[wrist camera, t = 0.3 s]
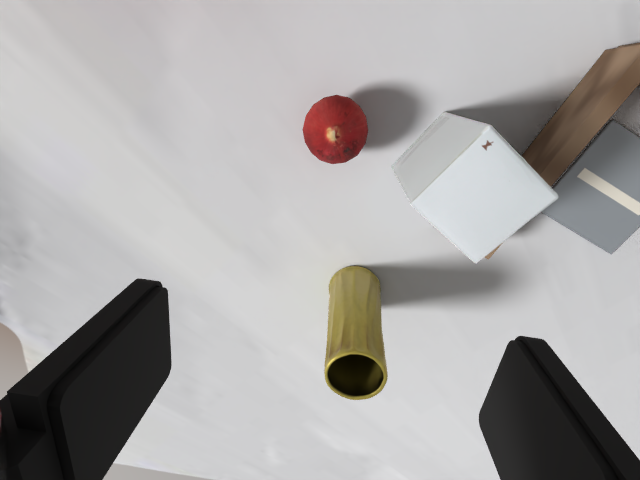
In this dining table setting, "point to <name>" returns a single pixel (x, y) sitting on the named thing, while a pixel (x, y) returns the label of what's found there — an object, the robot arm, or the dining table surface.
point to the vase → (355, 335)
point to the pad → (602, 190)
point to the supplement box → (471, 184)
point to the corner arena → (584, 112)
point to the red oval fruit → (335, 129)
